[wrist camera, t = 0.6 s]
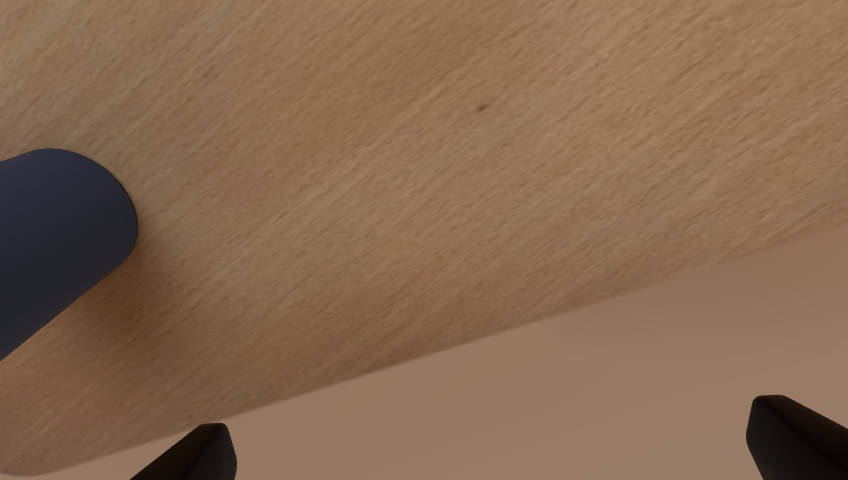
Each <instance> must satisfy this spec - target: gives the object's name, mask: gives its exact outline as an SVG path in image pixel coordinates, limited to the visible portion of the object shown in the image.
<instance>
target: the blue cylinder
mask: <svg viewBox="0 0 848 480" xmlns="http://www.w3.org/2000/svg"><path fill="white" fill-rule="evenodd" d="M136 236H137V220H136V215H135V211H134V208H133V205H132V203H131V201H130V199H129V197H128V195H127V193H126V192H125V190H124V189H123V188H122V186H121V185H120V184H119V182H118V181H117V180H116V179H115V178H114V177H113V176H112V175H111V174H110V173H109V172H108V171H107V170H105V169H104V168H103V167H101V166H100V165H98V164H97V163H95V162H94V161H92V160H90V159H88V158H86V157H84V156H82V155H79V154H76V153H73V152H70V151H65V150H61V149H38V150H33V151H30V152H27V153H24V154H21V155H18V156H16V157H13V158H10V159H7V160H4V161H1V162H0V361H1V360H3V359H4V358H5V357H6V356H8V355H9V354H10V353H11V352H13V351H14V350H15V349H16V348H18V347H19V346H20V345H21V344H22V343H24V342H25V341H26V340H27V339H29V338H30V337H31V336H32V335H34V334H35V333H36V332H37V331H39V330H40V329H41V328H42V327H44V326H45V325H46V324H47V323H49V322H50V321H51V320H52V319H54V318H55V317H56V316H57V315H59V314H60V313H61V312H62V311H63V310H65V309H66V308H67V307H68V306H70V305H71V304H72V303H73V302H75V301H76V300H77V299H78V298H80V297H81V296H82V295H83V294H85V293H86V292H87V291H88V290H90V289H91V288H92V287H93V286H95V285H96V284H97V283H98V282H100V281H101V280H102V279H103V278H104V277H106V276H107V275H108V274H109V273H111V272H112V271H113V270H114V269H116V268H117V267H118V266H119V265H121V264H122V263H123V262H124V261H125V260H126V259H127V257H128V256H129V255H130V253H131V251H132V249H133V248H134V244H135V241H136Z"/></svg>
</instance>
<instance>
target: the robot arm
mask: <svg viewBox="0 0 848 480" xmlns="http://www.w3.org/2000/svg"><path fill="white" fill-rule="evenodd" d="M746 441H747V445H748V448H749V450H750V453H751V455H752V456H753V459H754V461H755V463H756V465H757V467H758V469H759V472H760V474H761V476H762V478H763V480H848V429H847V428H845V427H843V426H842V425H840V424H838V423H836V422H834V421H832V420H830V419H828V418H826V417H824V416H822V415H821V414H819V413H817V412H815V411H813V410H811V409H809V408H807V407H805V406H803V405H801V404H799V403H797V402H796V401H794V400H792V399H790V398H788V397H786V396H783V395H763V396H758V397H756V398H755V399H754V400H753V403H752V407H751V412H750V416H749V422H748V427H747V431H746ZM236 470H237V459H236V454H235V451H234V447H233V444H232V441H231V437H230V434H229V430H228V428H227V426H226V425H225V424H223V423H208V424H201V425H199V426H198V427H196V428H195V429H194V430H193V431H191V432H190V433H189V434H187V435H186V436H185V437H184V438H182V439H181V440H180V441H178V442H177V443H176V444H175V445H173V446H172V447H171V448H170V449H168V450H167V451H166V452H164V453H163V454H162V455H161V456H159V457H158V458H157V459H155V460H154V461H153V462H152V463H150V464H149V465H148V466H146V467H145V468H144V469H143V470H141V471H140V472H139V473H137V475H135V476H134V477H132V478H131V479H130V480H234V479H235V475H236Z"/></svg>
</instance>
